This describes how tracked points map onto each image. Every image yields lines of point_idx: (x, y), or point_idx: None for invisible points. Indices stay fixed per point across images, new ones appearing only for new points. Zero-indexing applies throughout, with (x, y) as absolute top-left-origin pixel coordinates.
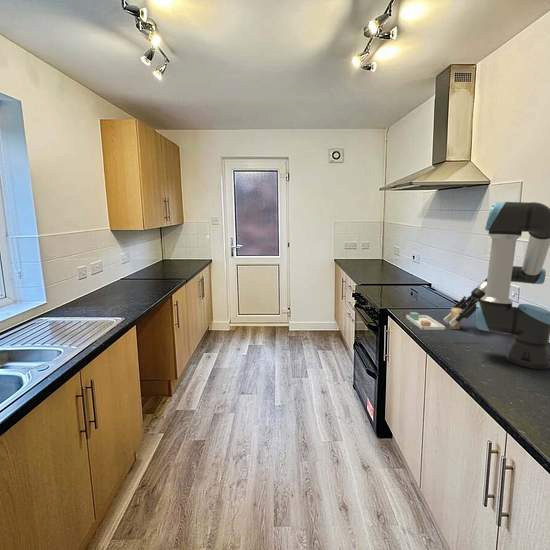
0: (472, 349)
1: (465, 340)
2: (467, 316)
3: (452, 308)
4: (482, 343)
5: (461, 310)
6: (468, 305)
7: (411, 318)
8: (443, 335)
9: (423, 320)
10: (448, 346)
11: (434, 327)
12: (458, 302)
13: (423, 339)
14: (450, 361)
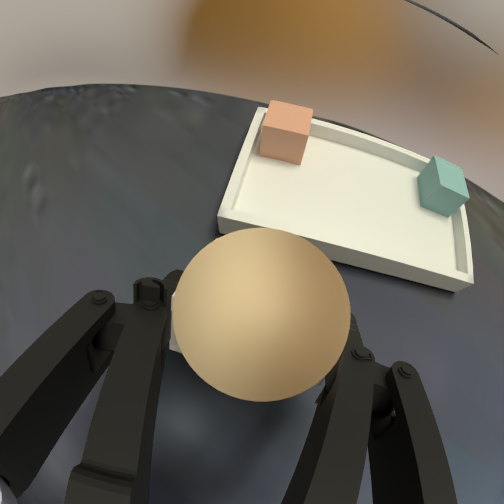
0: (20, 193)
1: (72, 243)
2: (91, 343)
3: (294, 252)
4: (21, 293)
5: (183, 349)
6: (103, 467)
7: (407, 152)
8: (173, 185)
9: (308, 116)
10: (79, 132)
11: (239, 155)
12: (446, 475)
13: (173, 93)
14: (39, 98)
